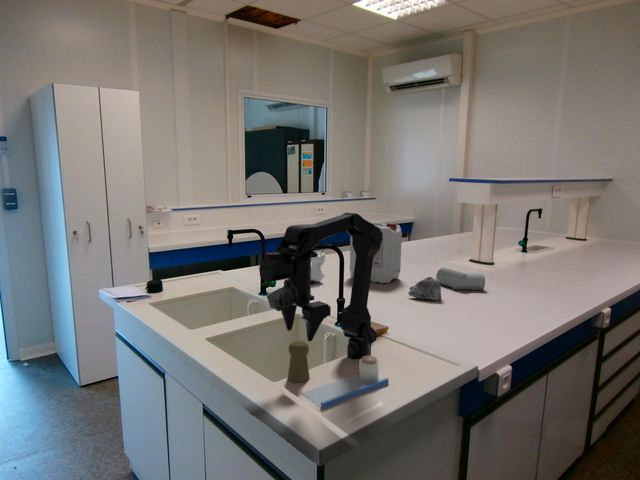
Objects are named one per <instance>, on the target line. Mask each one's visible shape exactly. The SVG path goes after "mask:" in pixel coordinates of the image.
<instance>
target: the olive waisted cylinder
mask: <svg viewBox="0 0 640 480" xmlns="http://www.w3.org/2000/svg"><path fill="white" fill-rule="evenodd" d="M309 351H310V347H309V344H308V342H307V341H305V340H294V341H291V342H290V343H289V345H288V352H289V355H290V359H289V366H288V375H287V381H288V382H290V383H293V384H305V383H307V382H309V381H310V372H309V370H310V369H309V364H308V363H309V361H308V354H309Z"/></svg>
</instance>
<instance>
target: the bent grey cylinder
mask: <svg viewBox="0 0 640 480" xmlns="http://www.w3.org/2000/svg"><path fill="white" fill-rule="evenodd" d="M435 277H436V278H435V279H438V280H440V283H441V286H442V285H443V286H446V287H449V288H452V289H451V290H454V291H455V290H457V291H459V290H460V291H483V290H485V287H486V276H485V274H484V272H471V271H469V272H466V273H465V272H461V271H457V270H454V269H451V268H447V267H441V268H439V269H438V271H437V273H436V276H435Z"/></svg>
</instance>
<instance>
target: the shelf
mask: <svg viewBox="0 0 640 480" xmlns="http://www.w3.org/2000/svg"><path fill="white" fill-rule="evenodd" d="M389 382H390V381H389V378H388V377H385V378H379V377H378V381H376V382H374V383H371V384H367V383H363V382H361V381H360V380H359V372H358V373H355V374H353V375H350V376H347V377H345V378H340V379H339V380H336V381H333V382H329V383H327V384H324V385H321V386H319V387H315V388H313V389H312V388H311V389H310V390H306V391H305V392H301V395H303V396H304V397H305V398H306V399H308V400H309V401H311V402H312V403H313V404H315V405H316V406H318V407H319V408H320V409H322V410H324V409H326V408H329V407H332V406H334V405H337V404H339V403H343V402H345V401H347V400H349V399H350V400H351V399H352V398H355V397H358V396H360V395H363V394H365V393H368V392H371V391H374V390H375V389H379V388H381V387H383V386H386V385H389Z"/></svg>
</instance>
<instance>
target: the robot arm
mask: <svg viewBox="0 0 640 480" xmlns="http://www.w3.org/2000/svg"><path fill="white" fill-rule="evenodd" d="M370 222H371V221H368V220H367V219H365V218H364V217H362V216H361V215H360V214H359V213H356V212H344V213H342V214H340V215H336V216H334V217H331V218H328V219H324V220H322V221H317V222H316V223H312V224H311V223H309V224H306V223H305V224H293V225H289V226H287V228H285V229H286V230H285V232H284V235H283V237H282V238H281V241H280V242H279V244H278V245H277V247H276V249H275V251H274V252H266V253H264V257H263V259H262V260H261V262H260V264H259V266H258V269H259V275H260V277H261V279H262V281H264V282H265V283H273V282H277V281H278V282H279V281H282V280H283V286H282V287H280V288H277V289H276V290H273V291H272V292H270V293H269V294H267V295H266V298H267V301H268V305H269V308H271V309H274V310H275V311H276V312H281V315H282V318H283V321H284V324H285V327H286V331H289V332H290V331H291V330H292V329H293V326H294V323H295V322H294V321H295V319H296V318H295V316H296V312H297V308H298V307H299V308H301V313H302V316H301V319H302V320H303V321H304V322H305V326H306V329H305V330H306V337H307V341H308V342H311V341H313V340H314V337H315V335H316V333H317V332H318V330H319V328H320V326H321V324H322V322H323V320H324V319H327V318H328V317H330V316H331V312H332V311H331V310H332V309H331V306H330V305H329V304H327V303H326V302H322V301H320V300H318V301H314V300H315V296H314V295H312V293H311V292H312V285H315V281H314V280H312V279H311V267H312V262H311V258H313V257H317V256H318V254H317V253H318V252H316V251H315V250H313V249H314V248H315V247H317V246H318V245H320V243H321V241H322V240H324V239H327V238H330V237H333V236H335V235H337V234H341V233H344V232H346V233H347V235H349V236H351V237H352V246H353V248H354V251H355V254H356V260H355V268H354V276H353V278H352V284H351V286H352V287H351V293H350V300H349V304H348V306H347V307H346V308H345V309H342V310H341V311H340V313H341V314H340V315H341V316H340V321H339V324H340V329H341V330H342V334H343V336H344V337H345V338H348V344H347V351H346V352H347V354H346V355H347V356H346V357H347V358H350V359H351V360H360V359H361V358H362V357H363V356H372V355H371V354H372V345H373V344H374V342H376V341H377V337H378V332H377V331H376V330H375V329H374V328H373V327H372V326H371V325H372V316H371V314H370V311H369V308H368V301H369V294H370V285H371V282H370V279H371V272H372V264H373V257H374V256H375V255H376V253H377V252H378V251H379V249H380V246H381V242H382V238H383V233H382V232H381V230H380V228H379V227H376V226H375V225H373V224H372V223H370ZM311 301H313V302H311ZM292 331H293V330H292Z"/></svg>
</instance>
